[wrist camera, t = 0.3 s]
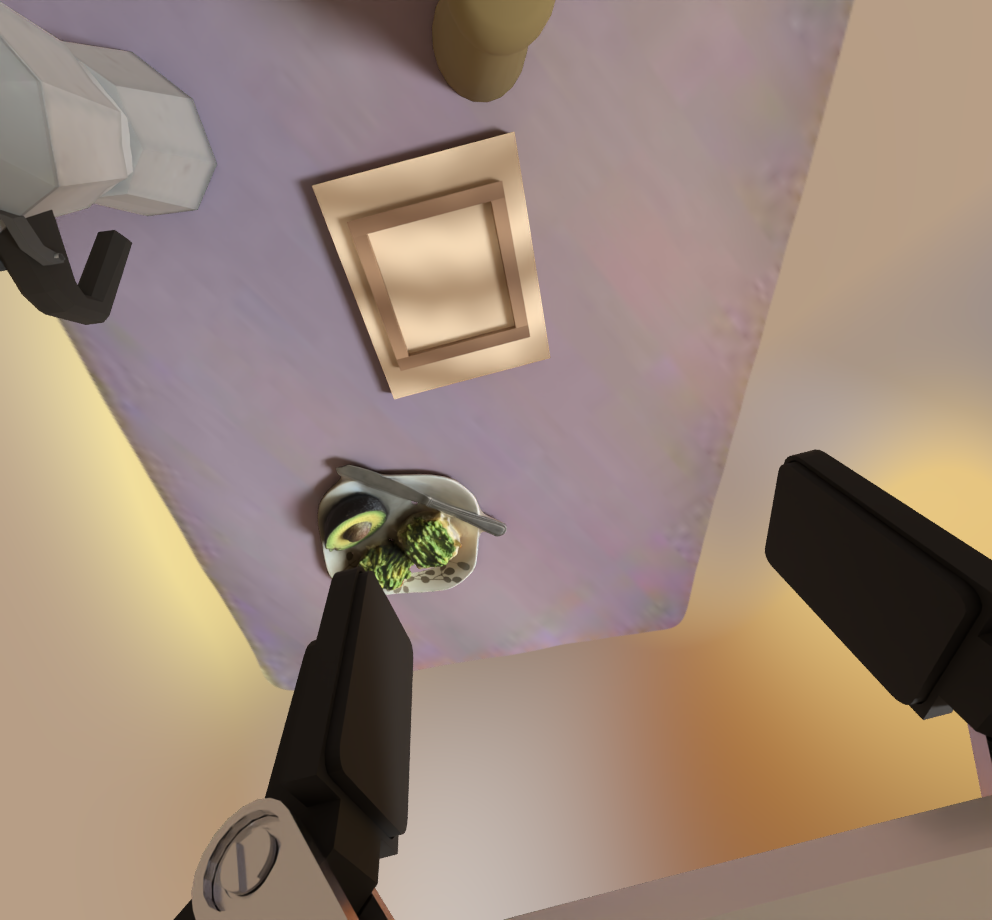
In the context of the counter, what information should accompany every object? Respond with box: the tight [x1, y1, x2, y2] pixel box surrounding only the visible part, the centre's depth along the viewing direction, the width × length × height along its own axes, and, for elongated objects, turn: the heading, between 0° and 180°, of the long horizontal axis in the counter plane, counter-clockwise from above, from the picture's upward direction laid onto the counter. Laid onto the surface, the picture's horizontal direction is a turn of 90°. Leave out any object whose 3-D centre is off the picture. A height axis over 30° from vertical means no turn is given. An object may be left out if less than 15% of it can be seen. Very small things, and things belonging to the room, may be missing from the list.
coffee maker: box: [0, 2, 217, 325], centre depth 20 cm, size 15×9×18 cm, turn 6°
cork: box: [432, 0, 555, 102], centre depth 22 cm, size 6×6×11 cm
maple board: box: [312, 132, 550, 399], centre depth 33 cm, size 16×14×2 cm
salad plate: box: [318, 465, 507, 595], centre depth 45 cm, size 19×18×5 cm
